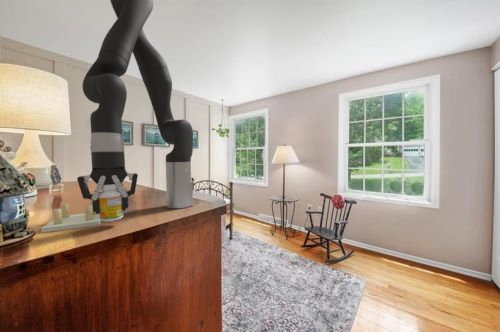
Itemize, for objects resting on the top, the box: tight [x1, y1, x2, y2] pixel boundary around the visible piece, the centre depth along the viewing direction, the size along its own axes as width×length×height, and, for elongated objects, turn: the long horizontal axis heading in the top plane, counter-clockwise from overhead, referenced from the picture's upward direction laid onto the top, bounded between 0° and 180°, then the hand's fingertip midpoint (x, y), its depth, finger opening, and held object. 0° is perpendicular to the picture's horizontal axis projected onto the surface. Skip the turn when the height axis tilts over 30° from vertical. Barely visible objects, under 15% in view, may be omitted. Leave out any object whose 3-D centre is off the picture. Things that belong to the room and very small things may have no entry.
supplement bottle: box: [99, 184, 124, 222], centre depth 58 cm, size 5×5×10 cm
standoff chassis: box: [40, 201, 102, 233], centre depth 61 cm, size 12×12×5 cm
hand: (111, 211), depth 58 cm, fingers closed on supplement bottle, 5 cm apart
